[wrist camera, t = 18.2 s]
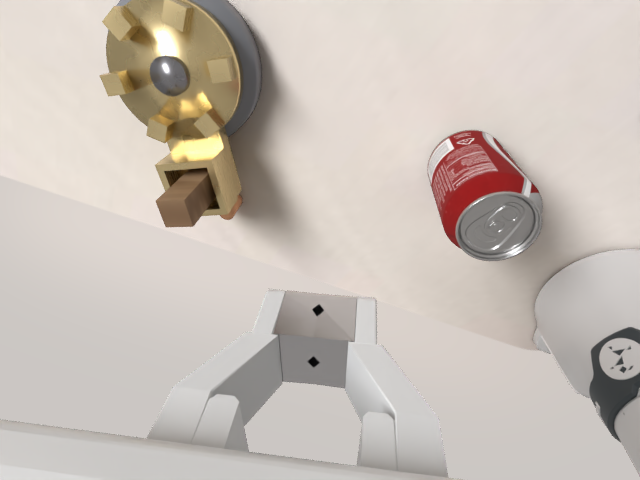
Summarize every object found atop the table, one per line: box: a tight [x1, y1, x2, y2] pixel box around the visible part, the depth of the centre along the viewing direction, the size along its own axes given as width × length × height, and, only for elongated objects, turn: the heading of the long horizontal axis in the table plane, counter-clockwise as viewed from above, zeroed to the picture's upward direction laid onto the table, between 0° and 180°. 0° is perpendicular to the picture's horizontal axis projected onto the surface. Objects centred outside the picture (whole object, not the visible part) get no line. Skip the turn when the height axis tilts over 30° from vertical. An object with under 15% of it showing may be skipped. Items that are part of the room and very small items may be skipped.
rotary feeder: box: [100, 0, 244, 216], centre depth 31 cm, size 17×11×4 cm, turn 7°
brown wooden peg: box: [156, 168, 216, 227], centre depth 32 cm, size 2×2×7 cm
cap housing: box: [108, 0, 262, 220], centre depth 33 cm, size 16×18×3 cm
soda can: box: [428, 130, 542, 261], centre depth 30 cm, size 7×7×12 cm
